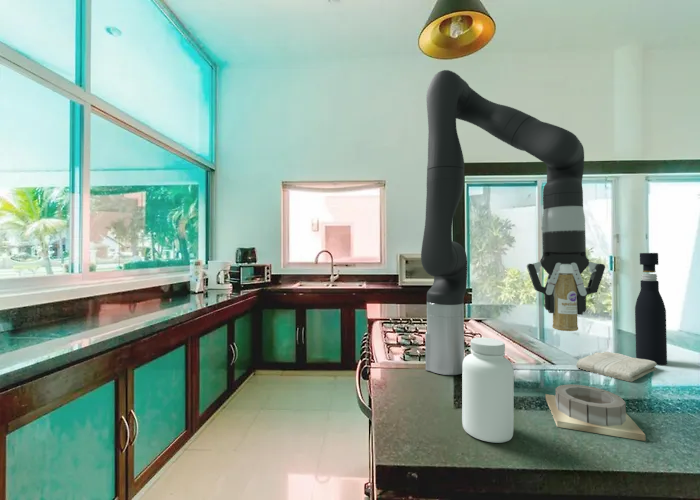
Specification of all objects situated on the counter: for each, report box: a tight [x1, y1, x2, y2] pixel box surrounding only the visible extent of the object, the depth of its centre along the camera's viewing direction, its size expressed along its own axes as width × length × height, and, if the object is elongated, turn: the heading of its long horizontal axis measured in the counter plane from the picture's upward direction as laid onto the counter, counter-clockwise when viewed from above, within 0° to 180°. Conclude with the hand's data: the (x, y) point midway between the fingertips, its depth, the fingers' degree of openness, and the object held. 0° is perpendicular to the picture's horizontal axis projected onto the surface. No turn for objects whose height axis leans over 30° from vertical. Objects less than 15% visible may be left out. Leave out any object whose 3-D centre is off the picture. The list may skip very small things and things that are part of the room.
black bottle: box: [634, 252, 668, 366], centre depth 93 cm, size 6×6×30 cm
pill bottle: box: [461, 337, 515, 444], centre depth 56 cm, size 8×8×15 cm
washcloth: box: [576, 351, 658, 383], centre depth 87 cm, size 12×18×3 cm, turn 123°
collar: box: [545, 384, 646, 442], centre depth 61 cm, size 12×12×4 cm
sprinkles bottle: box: [552, 264, 579, 332], centre depth 69 cm, size 5×5×14 cm
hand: (565, 313), depth 69 cm, fingers closed on sprinkles bottle, 4 cm apart
